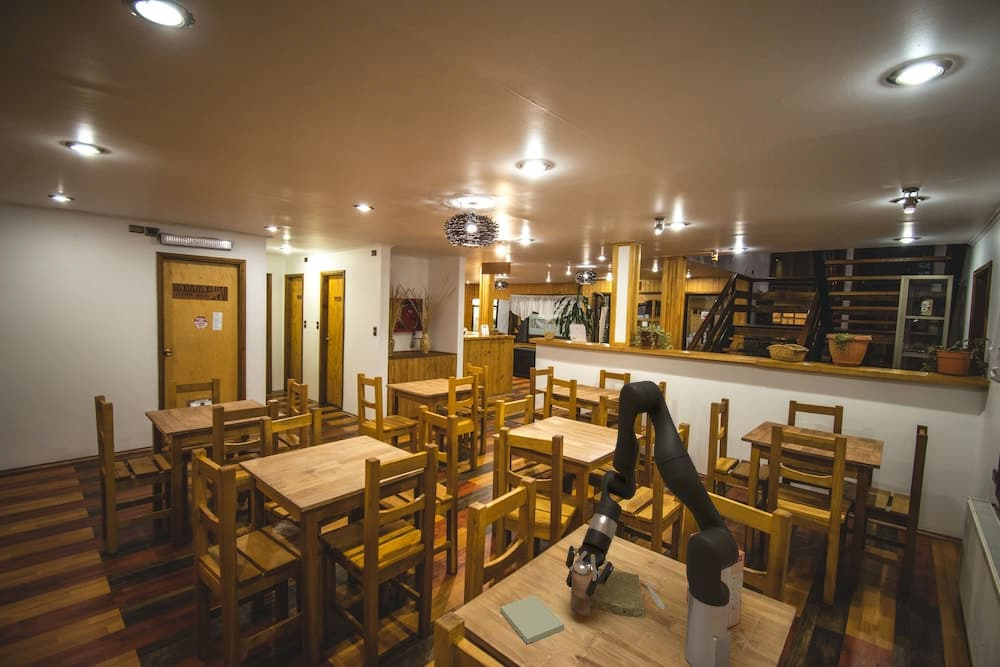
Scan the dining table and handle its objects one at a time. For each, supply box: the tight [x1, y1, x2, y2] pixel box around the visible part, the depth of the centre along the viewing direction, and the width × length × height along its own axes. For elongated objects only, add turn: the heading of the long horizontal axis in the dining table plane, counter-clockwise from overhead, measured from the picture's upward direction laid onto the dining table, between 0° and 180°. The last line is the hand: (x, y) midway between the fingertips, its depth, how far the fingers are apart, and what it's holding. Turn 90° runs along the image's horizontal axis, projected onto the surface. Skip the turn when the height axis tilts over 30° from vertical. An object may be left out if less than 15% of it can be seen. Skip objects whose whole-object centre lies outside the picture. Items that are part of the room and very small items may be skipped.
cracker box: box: [686, 531, 745, 629], centre depth 131 cm, size 14×6×21 cm, turn 27°
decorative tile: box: [590, 567, 646, 619], centre depth 138 cm, size 19×20×4 cm
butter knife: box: [644, 581, 666, 611], centre depth 145 cm, size 1×27×3 cm
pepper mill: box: [570, 560, 592, 617], centre depth 126 cm, size 6×6×13 cm
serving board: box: [499, 594, 565, 645], centre depth 125 cm, size 14×12×2 cm
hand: (578, 590), depth 125 cm, fingers closed on pepper mill, 5 cm apart
